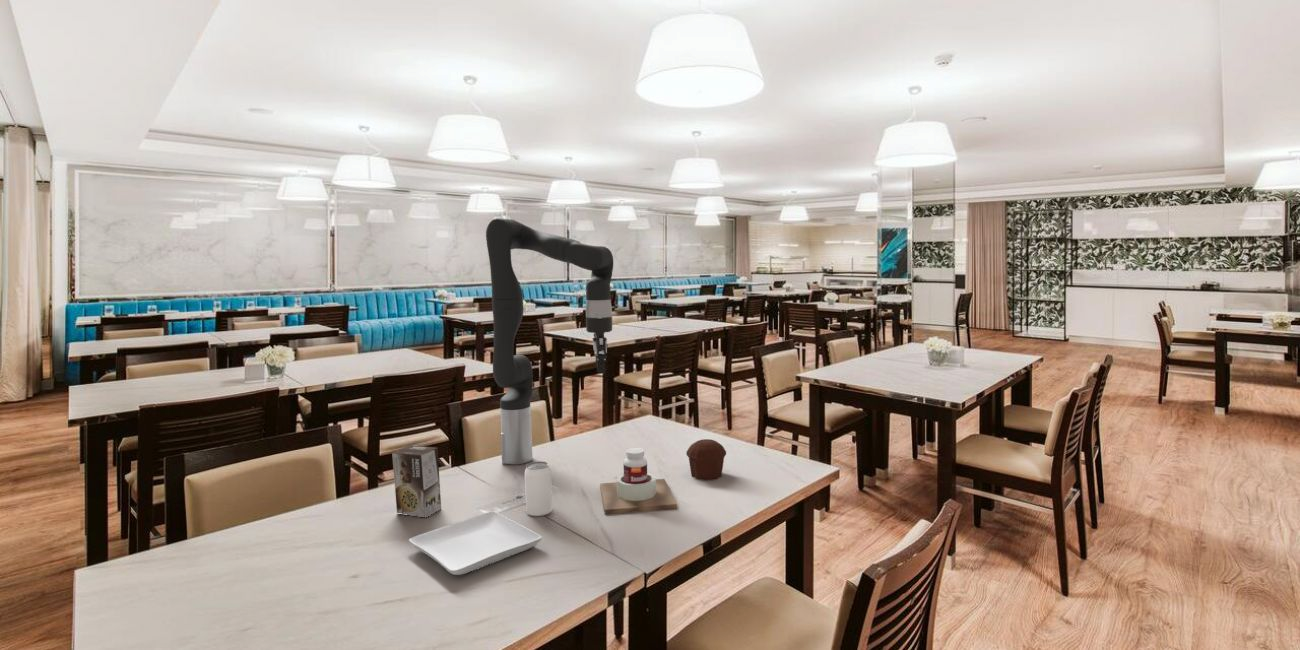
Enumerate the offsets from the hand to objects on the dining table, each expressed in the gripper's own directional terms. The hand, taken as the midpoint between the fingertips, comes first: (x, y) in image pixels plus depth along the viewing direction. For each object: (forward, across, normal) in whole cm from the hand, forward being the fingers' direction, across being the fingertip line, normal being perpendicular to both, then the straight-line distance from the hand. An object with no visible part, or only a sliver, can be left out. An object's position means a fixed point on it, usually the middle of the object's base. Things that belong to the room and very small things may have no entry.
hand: (600, 370), depth 177 cm
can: (+30, +27, -18) cm, 44 cm away
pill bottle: (+29, +23, +7) cm, 37 cm away
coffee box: (+30, +21, -48) cm, 61 cm away
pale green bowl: (+29, +23, +7) cm, 38 cm away
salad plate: (+31, +45, -31) cm, 63 cm away
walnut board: (+30, +23, +7) cm, 39 cm away
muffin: (+30, +10, +29) cm, 43 cm away
